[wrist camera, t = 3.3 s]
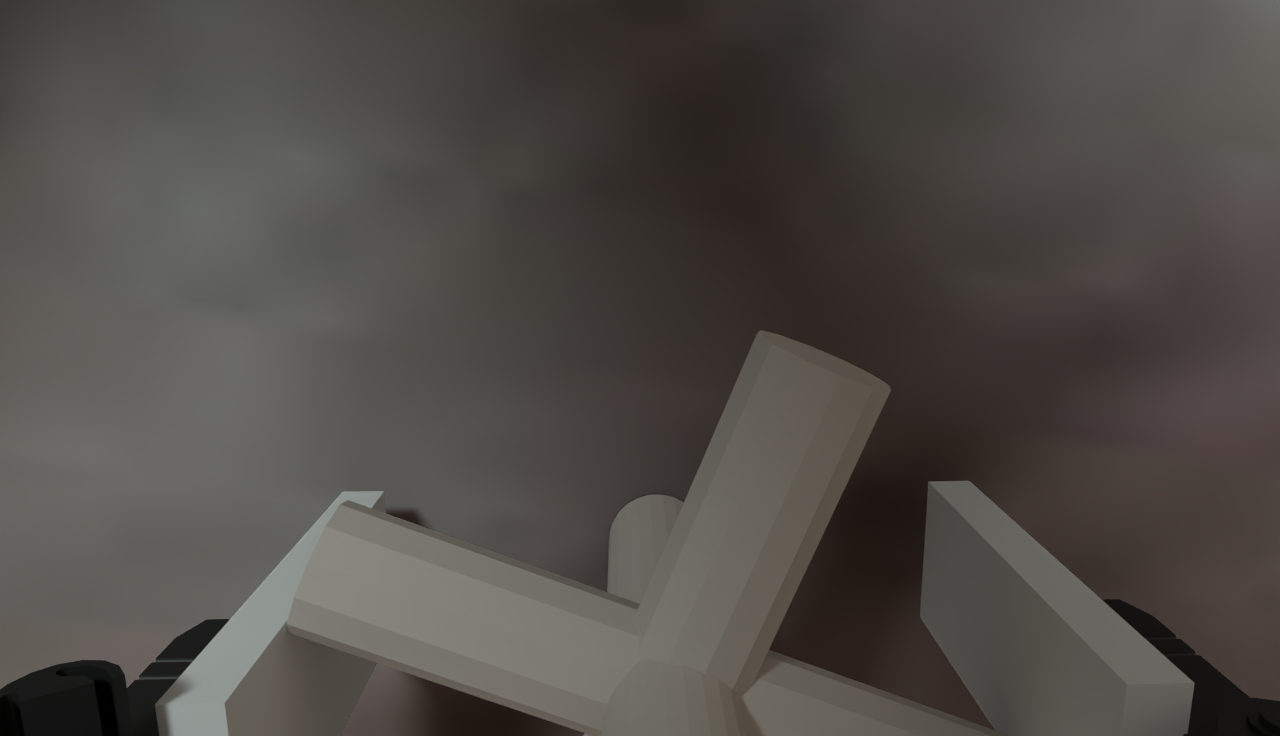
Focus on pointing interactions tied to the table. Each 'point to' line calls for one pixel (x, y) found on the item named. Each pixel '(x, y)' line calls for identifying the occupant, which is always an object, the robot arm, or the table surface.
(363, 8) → the table surface
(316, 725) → the robot arm
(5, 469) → the table surface
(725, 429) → the pipe connector
